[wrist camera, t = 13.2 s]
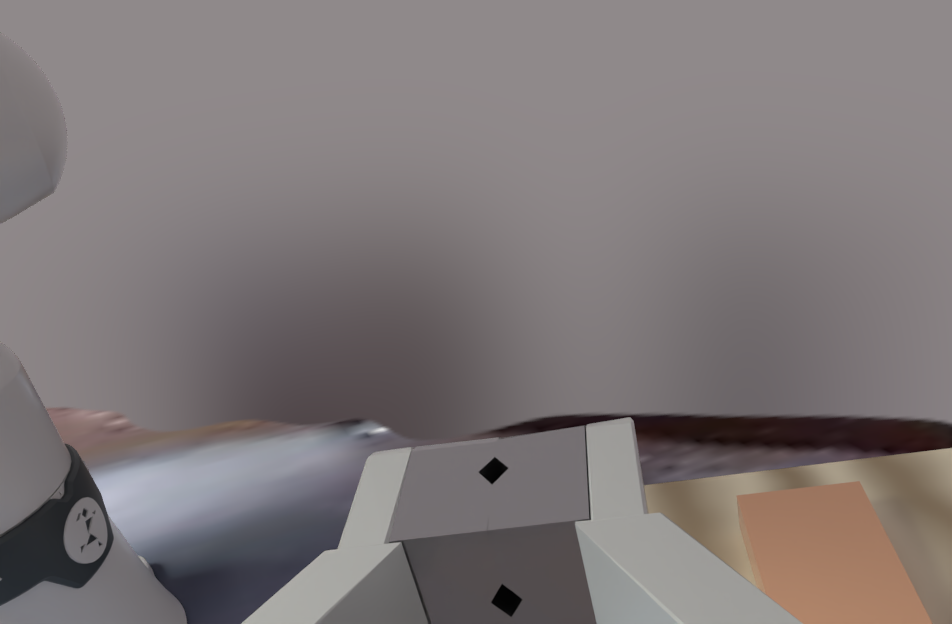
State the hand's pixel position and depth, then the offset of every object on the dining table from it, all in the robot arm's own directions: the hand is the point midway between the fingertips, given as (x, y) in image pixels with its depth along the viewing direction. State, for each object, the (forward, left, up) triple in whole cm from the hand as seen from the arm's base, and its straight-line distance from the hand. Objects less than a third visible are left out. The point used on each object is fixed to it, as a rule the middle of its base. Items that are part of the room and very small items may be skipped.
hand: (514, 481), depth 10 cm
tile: (+10, +19, -30) cm, 37 cm away
